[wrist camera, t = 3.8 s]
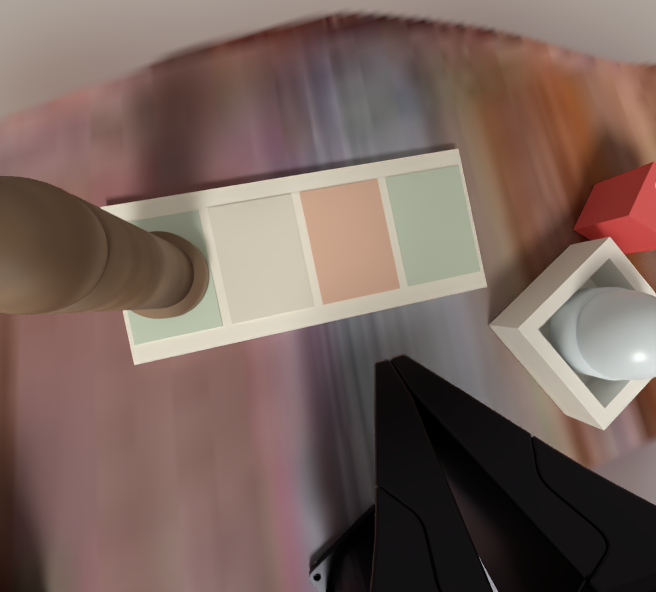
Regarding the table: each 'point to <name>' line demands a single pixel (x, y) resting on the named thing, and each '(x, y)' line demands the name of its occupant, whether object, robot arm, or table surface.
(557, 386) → the base
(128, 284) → the pawn
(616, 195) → the red die
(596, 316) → the dome
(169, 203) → the track board
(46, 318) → the table surface
